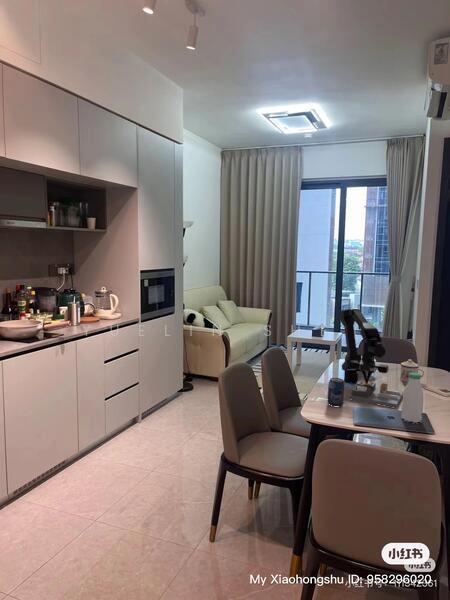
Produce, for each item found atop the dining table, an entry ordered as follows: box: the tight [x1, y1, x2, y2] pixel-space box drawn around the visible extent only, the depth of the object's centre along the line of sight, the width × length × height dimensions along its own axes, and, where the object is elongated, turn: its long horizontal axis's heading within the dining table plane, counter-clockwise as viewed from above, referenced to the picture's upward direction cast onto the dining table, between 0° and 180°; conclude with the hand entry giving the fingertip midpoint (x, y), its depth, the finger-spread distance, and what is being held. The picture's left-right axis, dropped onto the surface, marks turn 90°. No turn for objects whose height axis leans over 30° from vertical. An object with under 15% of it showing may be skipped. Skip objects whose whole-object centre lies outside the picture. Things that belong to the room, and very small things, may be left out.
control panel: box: [348, 379, 404, 409], centre depth 206 cm, size 21×20×4 cm
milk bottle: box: [401, 372, 424, 423], centre depth 178 cm, size 8×8×20 cm
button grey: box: [356, 385, 367, 392], centre depth 205 cm, size 4×4×2 cm
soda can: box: [327, 377, 345, 407], centre depth 195 cm, size 7×7×12 cm
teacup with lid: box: [399, 358, 425, 383], centre depth 234 cm, size 12×9×12 cm
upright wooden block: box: [379, 382, 388, 394], centre depth 205 cm, size 2×5×4 cm, turn 150°
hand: (366, 383), depth 214 cm, fingers closed, pressing on button terracotta
